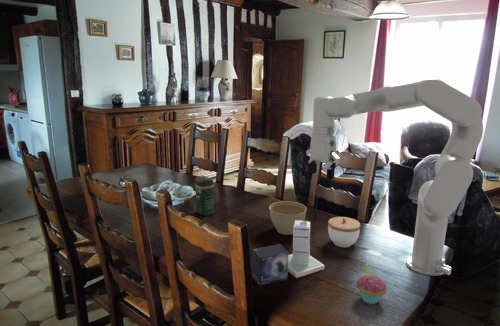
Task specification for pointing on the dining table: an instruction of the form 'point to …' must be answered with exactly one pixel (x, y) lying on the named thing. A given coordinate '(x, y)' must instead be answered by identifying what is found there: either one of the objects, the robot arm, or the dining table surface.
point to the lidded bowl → (343, 231)
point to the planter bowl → (286, 215)
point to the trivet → (304, 267)
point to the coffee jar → (204, 195)
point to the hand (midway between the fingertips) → (321, 176)
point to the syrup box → (301, 242)
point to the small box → (270, 264)
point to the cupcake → (371, 287)
